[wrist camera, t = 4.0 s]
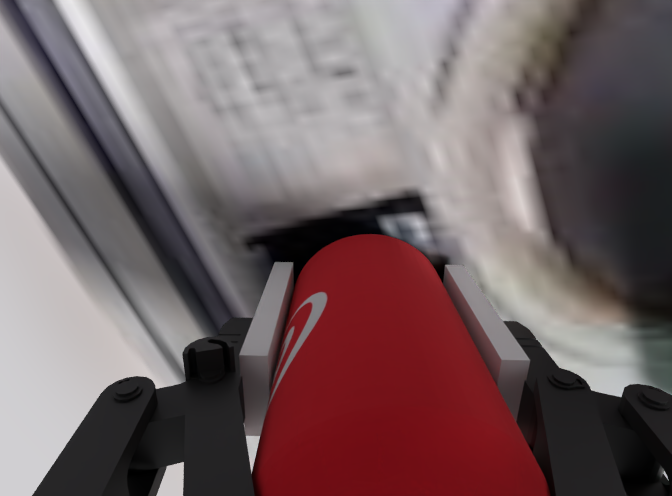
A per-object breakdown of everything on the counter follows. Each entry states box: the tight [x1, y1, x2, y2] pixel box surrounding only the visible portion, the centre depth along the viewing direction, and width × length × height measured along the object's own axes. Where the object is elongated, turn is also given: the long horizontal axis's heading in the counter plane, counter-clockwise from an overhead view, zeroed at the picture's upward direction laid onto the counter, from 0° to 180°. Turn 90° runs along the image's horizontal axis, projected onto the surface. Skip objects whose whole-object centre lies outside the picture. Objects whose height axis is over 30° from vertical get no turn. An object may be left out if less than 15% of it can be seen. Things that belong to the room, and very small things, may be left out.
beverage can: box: [252, 234, 551, 496], centre depth 13 cm, size 6×6×12 cm
